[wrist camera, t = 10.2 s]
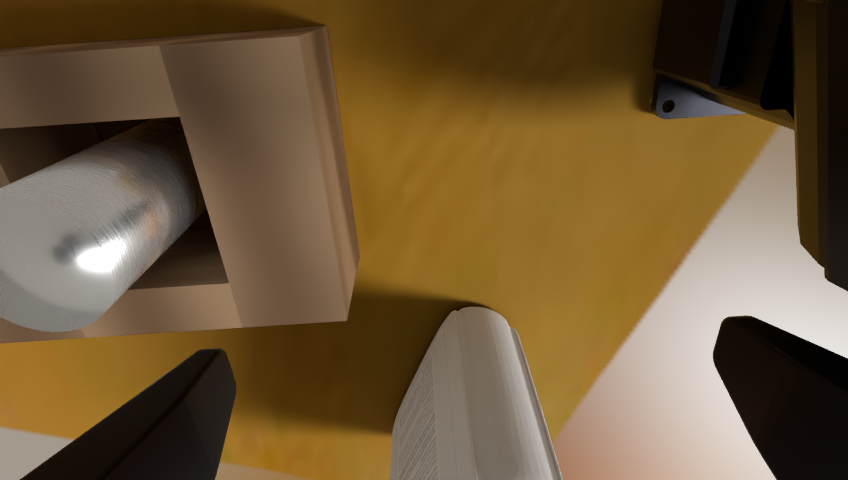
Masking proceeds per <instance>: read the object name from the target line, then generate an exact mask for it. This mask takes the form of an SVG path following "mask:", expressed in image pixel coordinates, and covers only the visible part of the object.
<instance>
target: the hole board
mask: <svg viewBox="0 0 848 480" xmlns="http://www.w3.org/2000/svg"><path fill="white" fill-rule="evenodd" d="M165 117H180V119H181V123H182V126H183V130H184V133H185V136H186V140H187V143H188V146H189V150H190V153H191V156H192V160H193V163H194V167H195V170H196V173H197V177H198V180H199V183H200V187H201V190H202V194H203V197H204V200H205V204H206V207H207V210H208V214H209V217H210V220H211V224H212V227H213V228H199V229H186V230H185V231H184V232H183V233H182V234H181V235H180V237H179V238H178V239H177V240H176V241H175V242H174V243H173V244H172V245H171V246H170V247H169V248H168V249H167V250H166V251H165V252H164V253H163V254H162V255H161V256H160V257H159V258H158V259H157V260H156V261H155V262H154V263H153V264H152V265H151V266H150V267H149V268H148V269H147V270H146V271H145V272H144V273H143V274H142V275H141V276H140V277H139V278H138V279H137V280H136V281H135V282H134V283H133V284H132V285H131V286H130V287H129V288H128V289H127V290H126V292H125V293H124V294H123V295H122V296H121V297H120V298H119V299H118V300H117V301H116V302H115V303H114V304H113V305H112V306H111V307H110V308H109V309H108V310H107V311H106V312H105V313H104V314H103V315H102V316H101V317H100V318H99V319H97V320H96V321H95V322H93V323H91V324H90V325H88V326H85V327H83V328H80V329H76V330H72V331H65V332H48V331H40V330H34V329H30V328H26V327H23V326H20V325H17V324H14V323H12V322H10V321H7V320H5V319H3V318H1V317H0V343H13V342H28V341H43V340H59V339H74V338H90V337H105V336H121V335H136V334H151V333H167V332H182V331H198V330H213V329H229V328H244V327H260V326H275V325H290V324H306V323H321V322H337V321H347V318H348V313H349V308H350V302H351V297H352V292H353V287H354V282H355V277H356V272H357V267H358V262H359V257H360V256H359V249H358V242H357V235H356V228H355V221H354V214H353V207H352V200H351V193H350V186H349V179H348V172H347V165H346V158H345V151H344V144H343V137H342V130H341V123H340V116H339V109H338V102H337V95H336V88H335V81H334V74H333V66H332V59H331V52H330V45H329V38H328V31H327V26H319V27H304V28H290V29H275V30H261V31H246V32H232V33H217V34H203V35H188V36H174V37H159V38H145V39H130V40H116V41H101V42H87V43H72V44H58V45H43V46H29V47H14V48H0V188H2V187H4V186H6V185H8V184H11V183H13V182H15V181H17V180H19V179H22V178H24V177H26V176H28V175H30V174H33V173H35V172H37V171H39V170H41V169H43V168H46V167H48V166H50V165H52V164H54V163H57V162H59V161H61V160H63V159H65V158H68V157H70V156H72V155H74V154H76V153H79V152H81V151H83V150H85V149H87V148H90V147H92V146H94V145H96V144H98V143H101V141H100V138H99V135H98V133H97V130H96V127H95V125H94V122H106V121H121V120H136V119H150V118H165Z"/></svg>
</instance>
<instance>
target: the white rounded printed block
mask: <svg viewBox="0 0 848 480" xmlns="http://www.w3.org/2000/svg"><path fill="white" fill-rule="evenodd" d="M390 480H563V478H562V474H561V471H560V468H559V464H558V461H557V458H556V455H555V452H554V448H553V445H552V441H551V438H550V435H549V431H548V428H547V425H546V421H545V418H544V414H543V411H542V408H541V405H540V402H539V399H538V395H537V392H536V389H535V386H534V382H533V379H532V376H531V373H530V369H529V366H528V363H527V360H526V356H525V354H524V350H523V347H522V344H521V341H520V338H519V335H518V333H517V331H516V330H515V328H513V327H510V326H509V325H508V323H507V321H506V320H505V319H504V317H502V316H501V315H500V314H499V313H497V312H495V311H493V310H490V309H487V308H483V307H466V308H462V309H460V310H459V311H456V310H454V311H452V312H451V313H450V314H449V315H448V317H447V318H446V319H445V321H444V322H443V324H442V325H441V327H440V328H439V330H438V332H437V333H436V335H435V337H434V339H433V341H432V343H431V345H430V346H429V348H428V350H427V352H426V354H425V356H424V358H423V360H422V362H421V364H420V366H419V368H418V370H417V372H416V374H415V376H414V378H413V380H412V382H411V384H410V386H409V388H408V390H407V393H406V395H405V396H404V399H403V401H402V403H401V406H400V408H399V410H398V413H397V416H396V419H395V423H394V427H393V433H392V443H391V469H390Z"/></svg>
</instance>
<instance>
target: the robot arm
mask: <svg viewBox="0 0 848 480" xmlns="http://www.w3.org/2000/svg"><path fill="white" fill-rule="evenodd" d="M653 68H654V69H655V71H656V72H657V73H656V80H655V86H654V92H653V99H652V105H651V106H652V112H653V113H654V114H655V115H656V116H658V117H660V118H663V119H673V118H688V117H703V116H718V115H733V114H750V115H753V116H756V117H758V118H761V119H764V120H767V121H770V122H773V123H775V124H778V125H781V126H784V127H787V128H790V129H793V130H795V157H796V187H797V216H798V229H799V235H800V243H801V245H802V246H803V247H804V248H805V249H806V250H807V251H808V252H809V254H810V255H811V256H812V257H813V258H814V259H815V260H816V261H817V263H818V264H820V265H821V266H822V267H824V268H825V270H824V271H825V278H826V279H827V280H828V281H829V282H831V283H833V284H835V285H837V286H839V287H841V288H843V289H845V290H847V291H848V0H663V4H662V10H661V17H660V23H659V30H658V36H657V43H656V49H655V56H654V63H653ZM668 100H670V105H669V107H668V108H667V109H666V110H664V111H663V110H662V106H663V103H665V102H666V101H668ZM713 360H714V364H715V367H716V369H717V371H718V373H719V375H720V377H721V379H722V381H723V383H724V385H725V387H726V389H727V391H728V393H729V395H730V397H731V399H732V401H733V403H734V405H735V407H736V409H737V411H738V413H739V415H740V417H741V419H742V421H743V423H744V425H745V427H746V429H747V430H748V433H749V434H750V436H751V438H752V440H753V442H754V444H755V446H756V447H757V449H758V450H759V452H760V454H761V456H762V457H763V459H764V460H765V462H766V464H767V465H768V467H769V468H770V470H771V471H772V473H773V475H774V476H775V478H776V479H777V480H848V359H847V358H845V357H843V356H840V355H838V354H836V353H834V352H831V351H829V350H827V349H825V348H823V347H820V346H818V345H815V344H813V343H811V342H809V341H806V340H804V339H802V338H800V337H798V336H795V335H793V334H791V333H789V332H786V331H784V330H782V329H779V328H777V327H775V326H773V325H770V324H768V323H766V322H764V321H761V320H759V319H757V318H755V317H752V316H734V317H727V318H725V319H724V320H723V321H722V323H721V327H720V330H719V333H718V337H717V340H716V344H715V347H714V351H713ZM235 395H236V382H235V379H234V376H233V373H232V369H231V366H230V363H229V360H228V357H227V355H226V352H225V351H224V350H222V349H219V348H218V349H203V350H199V351H197V352H196V353H194V354H193V355H191V356H190V357H189V358H187V359H186V360H184V361H183V362H182V363H180V364H179V365H178V366H176V367H175V368H173V369H172V370H171V371H169V372H168V373H167V374H165V375H164V376H162V377H161V378H160V379H158V380H157V381H155V382H154V383H153V384H151V385H150V386H149V387H147V388H146V389H144V390H143V391H142V392H140V393H139V394H138V395H136V396H135V397H133V398H132V399H131V400H129V401H128V402H126V403H125V404H124V405H122V406H121V407H120V408H118V409H117V410H115V411H114V412H113V413H111V414H110V415H109V416H107V417H106V418H104V419H103V420H102V421H100V422H99V423H97V424H96V425H95V426H93V427H92V428H91V429H89V430H88V431H86V432H85V433H84V434H82V435H81V436H80V437H78V438H77V439H75V440H74V441H73V442H71V443H70V444H68V445H67V446H66V447H64V448H63V449H62V450H60V451H59V452H57V453H56V454H55V455H53V456H52V457H50V458H49V459H48V460H46V461H45V462H44V463H42V464H41V465H39V466H38V467H37V468H35V469H34V470H33V471H31V472H30V473H28V474H27V475H26V476H24V477H23V478H21V479H20V480H215V477H216V474H217V470H218V466H219V463H220V459H221V454H222V450H223V446H224V442H225V438H226V433H227V429H228V425H229V421H230V417H231V413H232V408H233V404H234V400H235Z"/></svg>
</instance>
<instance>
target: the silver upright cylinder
mask: <svg viewBox="0 0 848 480" xmlns="http://www.w3.org/2000/svg"><path fill="white" fill-rule="evenodd" d="M206 209H207V207H206V204H205V200H204V197H203V194H202V190H201V187H200V183H199V180H198V177H197V173H196V170H195V167H194V163H193V160H192V156H191V153H190V150H189V146H188V143H187V140H186V136H185V133H184V130H183V126H182V123H181V119H180V117H165V118H153V119H151V120H149V121H147V122H144V123H142V124H140V125H138V126H136V127H133V128H131V129H129V130H127V131H125V132H122V133H120V134H118V135H116V136H114V137H112V138H109V139H107V140H105V141H103V142H101V143H98V144H96V145H94V146H92V147H90V148H87V149H85V150H83V151H81V152H79V153H76V154H74V155H72V156H70V157H68V158H65V159H63V160H61V161H59V162H57V163H54V164H52V165H50V166H48V167H46V168H43V169H41V170H39V171H37V172H35V173H33V174H30V175H28V176H26V177H24V178H22V179H19V180H17V181H15V182H13V183H11V184H8V185H6V186H4V187H2V188H0V317H1V318H3V319H5V320H7V321H10V322H12V323H14V324H17V325H20V326H23V327H26V328H30V329H34V330H40V331H48V332H65V331H72V330H76V329H80V328H83V327H85V326H88V325H90V324H91V323H93V322H95V321H96V320H97V319H99V318H100V317H101V316H102V315H103V314H104V313H105V312H106V311H107V310H108V309H109V308H110V307H111V306H112V305H113V304H114V303H115V302H116V301H117V300H118V299H119V298H120V297H121V296H122V295H123V294H124V293H125V292H126V290H127V289H128V288H129V287H130V286H131V285H132V284H133V283H134V282H135V281H136V280H137V279H138V278H139V277H140V276H141V275H142V274H143V273H144V272H145V271H146V270H147V269H148V268H149V267H150V266H151V265H152V264H153V263H154V262H155V261H156V260H157V259H158V258H159V257H160V256H161V255H162V254H163V253H164V252H165V251H166V250H167V249H168V248H169V247H170V246H171V245H172V244H173V243H174V242H175V241H176V240H177V239H178V238H179V237H180V235H181V234H182V233H183V232H184V231H185V230H186V229H187V228H188V227H189V226H190V225H191V224H192V223H193V222H194V221H195V220H196V219H197V218H198V217H199V216H200V215H201V214H202V213H203V212H204V211H205V210H206Z"/></svg>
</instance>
